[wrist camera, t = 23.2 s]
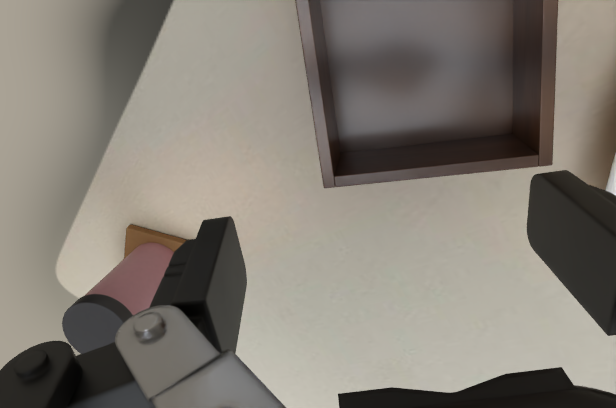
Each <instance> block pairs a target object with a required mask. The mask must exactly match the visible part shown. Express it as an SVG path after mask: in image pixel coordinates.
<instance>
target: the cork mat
mask: <svg viewBox="0 0 616 408" xmlns="http://www.w3.org/2000/svg"><path fill="white" fill-rule="evenodd" d="M185 241H186V240H185V239H181V238H178V237H174V236H171V235H167V234H163V233H160V232H156V231H153V230H149V229H145V228H142V227H138V226H135V225H129V226H128V227H127V228H126V242H125V255H124V259H125V258H126V257H127V256H128V255H129V254H130V253H131V252H132V251H133V250H134V249H136V248H137V247H138V246H139V245H141V244H144V243H158V244H161V245H164V246H166V247H168V248H169V249H170V250H172V251H173V252H175V251H176V250H177V249H178V248H179V247H180V246H181V245H182V244H183V243H184V242H185Z"/></svg>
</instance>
